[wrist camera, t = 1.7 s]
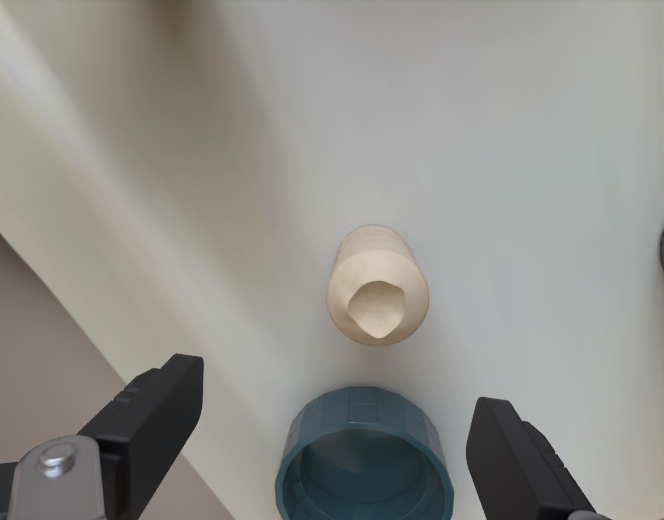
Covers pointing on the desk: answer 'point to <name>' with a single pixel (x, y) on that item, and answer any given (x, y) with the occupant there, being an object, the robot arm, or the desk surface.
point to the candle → (376, 288)
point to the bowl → (363, 461)
